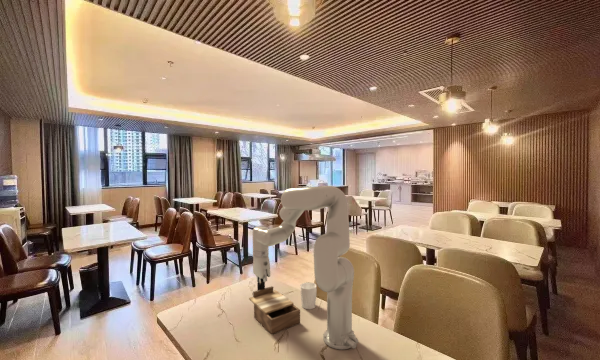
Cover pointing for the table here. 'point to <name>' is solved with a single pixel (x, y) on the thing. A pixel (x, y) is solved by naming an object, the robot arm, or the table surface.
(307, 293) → the white cup
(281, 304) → the tea box lid
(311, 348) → the table surface
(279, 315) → the tea box
